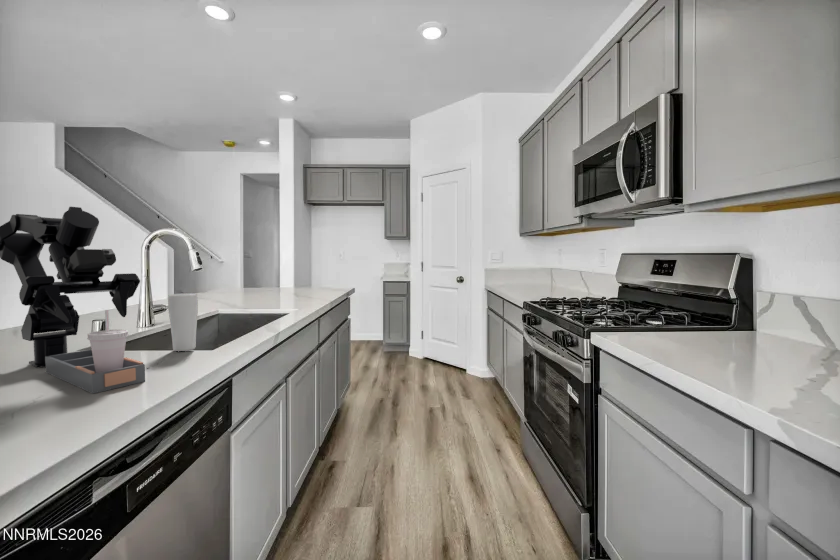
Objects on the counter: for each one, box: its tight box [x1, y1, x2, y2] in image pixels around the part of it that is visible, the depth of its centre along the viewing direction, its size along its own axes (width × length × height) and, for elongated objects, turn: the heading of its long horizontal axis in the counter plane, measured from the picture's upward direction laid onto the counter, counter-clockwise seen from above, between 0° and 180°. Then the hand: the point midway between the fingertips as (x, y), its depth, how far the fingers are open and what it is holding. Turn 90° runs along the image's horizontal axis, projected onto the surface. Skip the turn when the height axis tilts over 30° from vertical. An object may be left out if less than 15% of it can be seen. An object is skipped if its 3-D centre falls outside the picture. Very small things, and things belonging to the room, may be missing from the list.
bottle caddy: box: [45, 349, 146, 394], centre depth 83 cm, size 25×9×4 cm, turn 58°
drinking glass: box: [167, 292, 199, 353], centre depth 107 cm, size 7×7×15 cm
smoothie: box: [86, 309, 129, 373], centre depth 79 cm, size 6×6×14 cm
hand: (98, 318), depth 80 cm, fingers open, 9 cm apart
